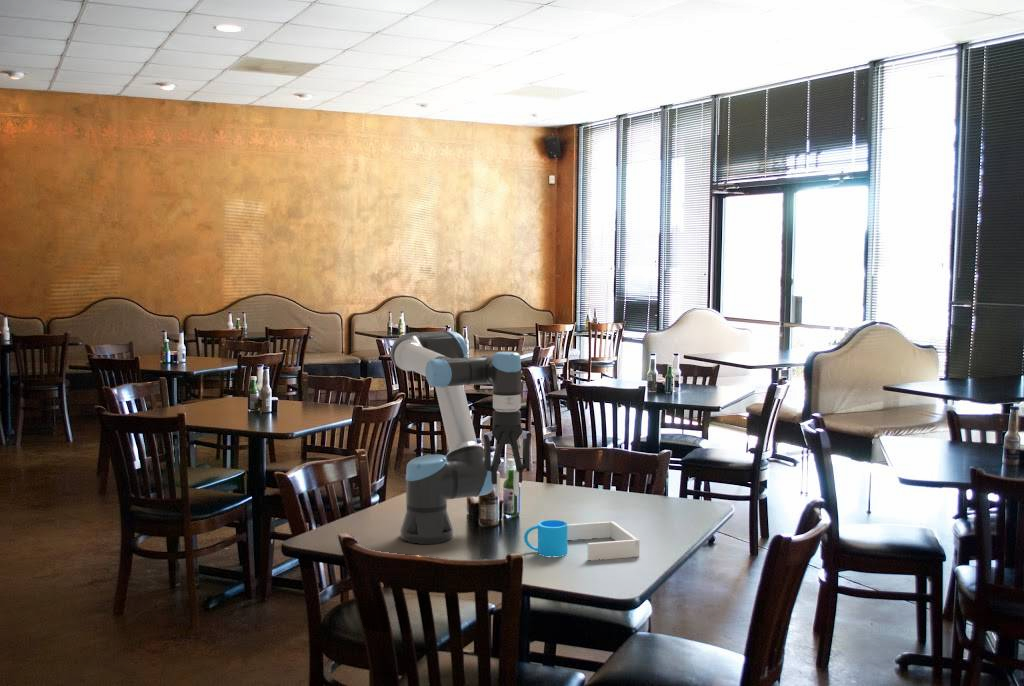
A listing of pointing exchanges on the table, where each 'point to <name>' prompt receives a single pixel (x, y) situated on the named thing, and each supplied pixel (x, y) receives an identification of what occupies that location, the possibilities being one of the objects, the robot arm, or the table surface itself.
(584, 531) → the box
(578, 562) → the table surface
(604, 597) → the table surface
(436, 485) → the robot arm
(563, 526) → the mug
